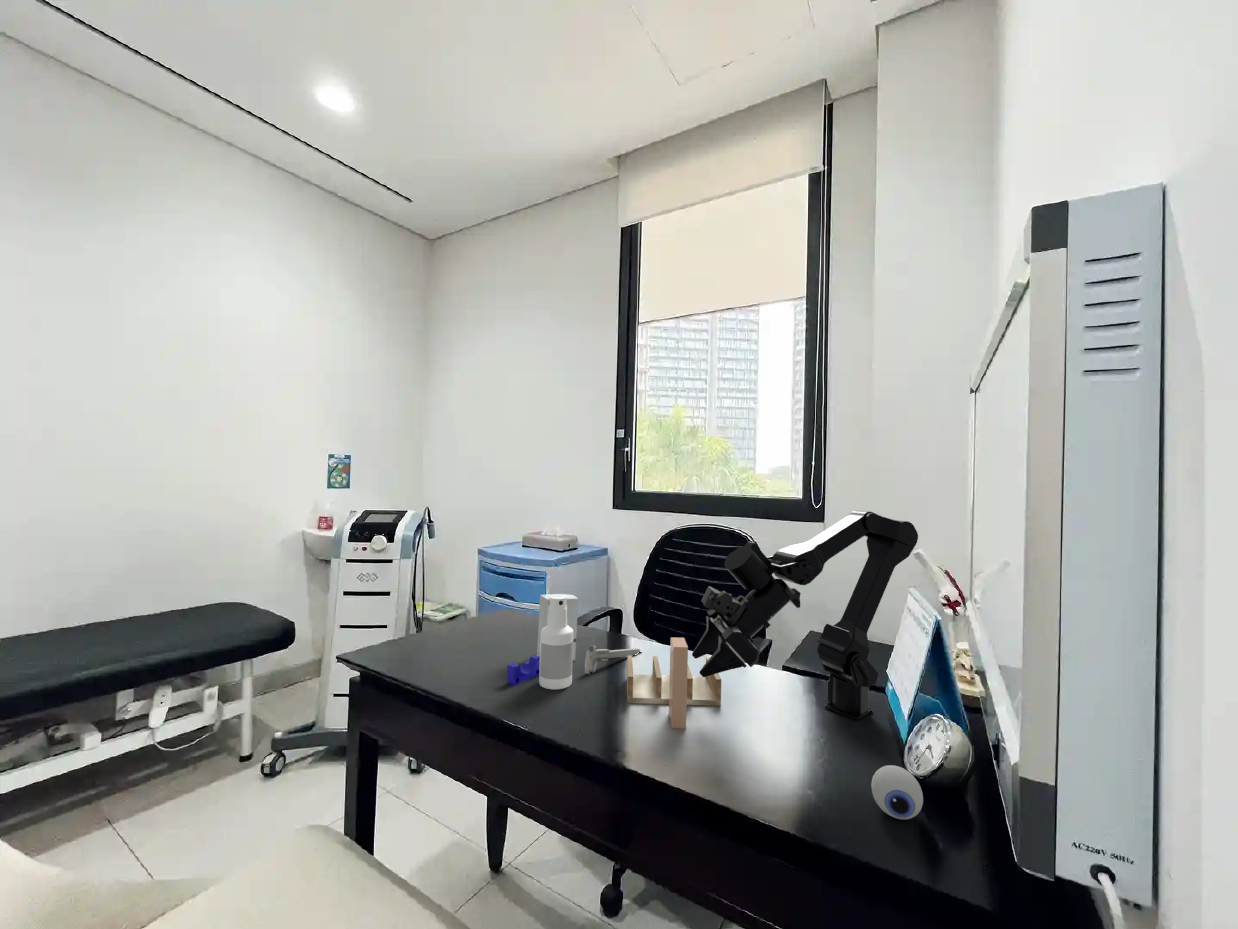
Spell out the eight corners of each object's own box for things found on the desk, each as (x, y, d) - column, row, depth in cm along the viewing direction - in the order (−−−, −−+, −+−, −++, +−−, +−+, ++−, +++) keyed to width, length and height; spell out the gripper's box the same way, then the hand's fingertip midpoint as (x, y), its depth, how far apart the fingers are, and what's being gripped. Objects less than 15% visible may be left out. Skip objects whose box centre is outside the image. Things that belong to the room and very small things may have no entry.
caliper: (588, 676, 113) (588, 647, 113) (584, 675, 114) (585, 646, 114) (642, 653, 129) (643, 628, 129) (639, 652, 129) (639, 627, 130)
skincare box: (542, 664, 118) (544, 599, 119) (536, 656, 124) (538, 594, 124) (577, 660, 122) (579, 597, 122) (569, 652, 127) (571, 592, 128)
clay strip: (682, 714, 95) (684, 637, 96) (686, 728, 90) (687, 647, 90) (668, 713, 95) (670, 637, 96) (671, 728, 90) (673, 647, 90)
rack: (710, 681, 111) (710, 658, 111) (720, 705, 99) (721, 679, 99) (626, 678, 111) (627, 655, 112) (627, 702, 99) (628, 676, 100)
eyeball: (873, 822, 66) (874, 774, 66) (868, 796, 72) (869, 752, 72) (927, 835, 64) (927, 786, 64) (918, 807, 70) (918, 762, 70)
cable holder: (529, 671, 115) (529, 653, 115) (540, 675, 113) (541, 657, 113) (501, 682, 108) (502, 663, 108) (513, 686, 106) (514, 667, 106)
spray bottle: (545, 692, 103) (548, 602, 104) (534, 680, 109) (537, 594, 110) (576, 687, 106) (579, 599, 107) (564, 675, 112) (567, 592, 113)
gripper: (719, 564, 103) (662, 618, 102) (741, 583, 84) (671, 649, 84) (758, 605, 102) (700, 660, 102) (788, 633, 84) (718, 700, 83)
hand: (697, 665), depth 93 cm, fingers open, 9 cm apart
